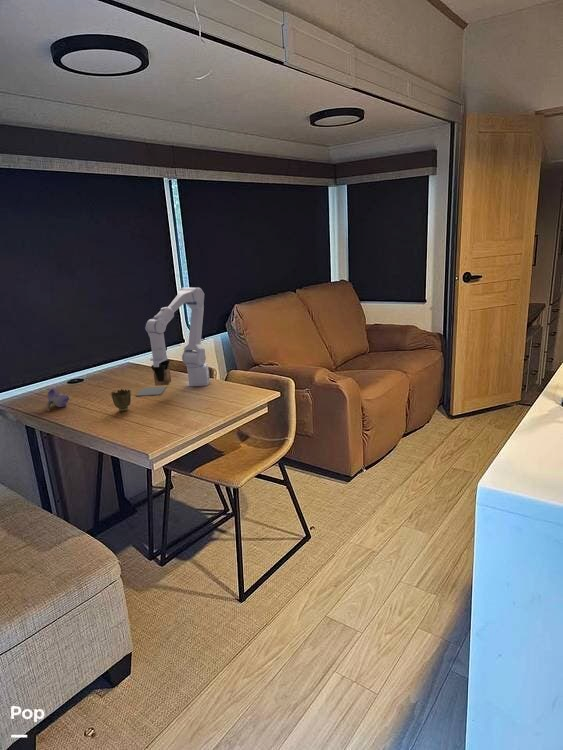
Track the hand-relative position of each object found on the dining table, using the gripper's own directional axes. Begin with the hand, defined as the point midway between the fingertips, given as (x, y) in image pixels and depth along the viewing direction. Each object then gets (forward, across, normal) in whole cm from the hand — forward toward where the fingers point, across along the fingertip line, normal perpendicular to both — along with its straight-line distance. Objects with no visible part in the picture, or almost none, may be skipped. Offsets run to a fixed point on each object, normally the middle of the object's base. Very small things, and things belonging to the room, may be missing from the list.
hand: (162, 379), depth 204 cm
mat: (+8, -9, -8) cm, 15 cm away
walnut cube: (+2, 0, 0) cm, 2 cm away
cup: (+8, +14, -14) cm, 21 cm away
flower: (+9, +5, -44) cm, 46 cm away
